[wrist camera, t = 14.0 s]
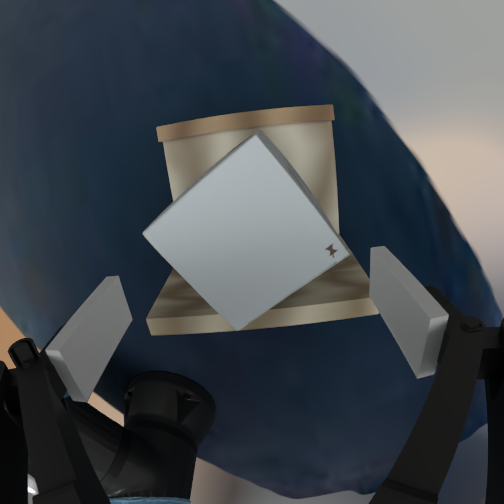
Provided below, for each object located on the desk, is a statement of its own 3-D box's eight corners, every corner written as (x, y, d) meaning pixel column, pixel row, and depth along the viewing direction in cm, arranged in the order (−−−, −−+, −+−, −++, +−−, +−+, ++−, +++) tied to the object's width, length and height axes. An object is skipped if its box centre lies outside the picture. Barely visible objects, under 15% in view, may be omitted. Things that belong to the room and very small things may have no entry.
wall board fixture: (187, 261, 38) (151, 335, 25) (162, 126, 33) (100, 130, 19) (338, 244, 37) (378, 313, 23) (328, 105, 31) (375, 93, 17)
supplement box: (260, 127, 32) (260, 126, 16) (314, 193, 34) (358, 252, 19) (191, 184, 34) (136, 235, 19) (246, 246, 37) (236, 336, 21)
